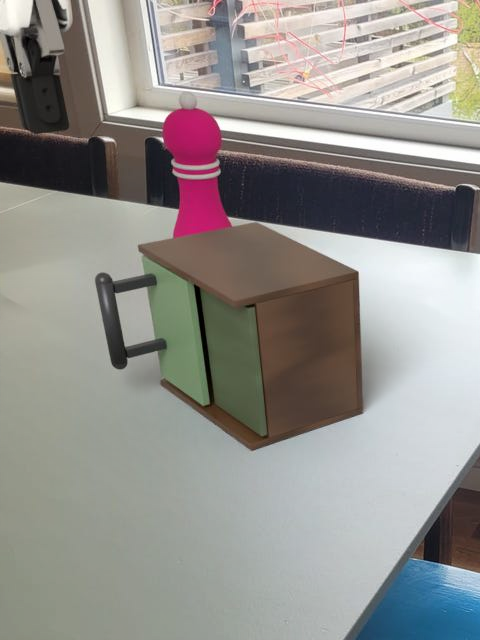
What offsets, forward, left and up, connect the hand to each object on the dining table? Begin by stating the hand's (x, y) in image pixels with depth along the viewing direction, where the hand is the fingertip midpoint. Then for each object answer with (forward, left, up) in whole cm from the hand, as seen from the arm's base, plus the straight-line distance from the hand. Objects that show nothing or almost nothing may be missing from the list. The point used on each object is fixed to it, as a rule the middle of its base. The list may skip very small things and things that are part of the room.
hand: (46, 129), depth 80 cm
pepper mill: (+21, +16, -22) cm, 34 cm away
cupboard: (+11, -12, -22) cm, 27 cm away
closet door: (+2, -8, -21) cm, 22 cm away
